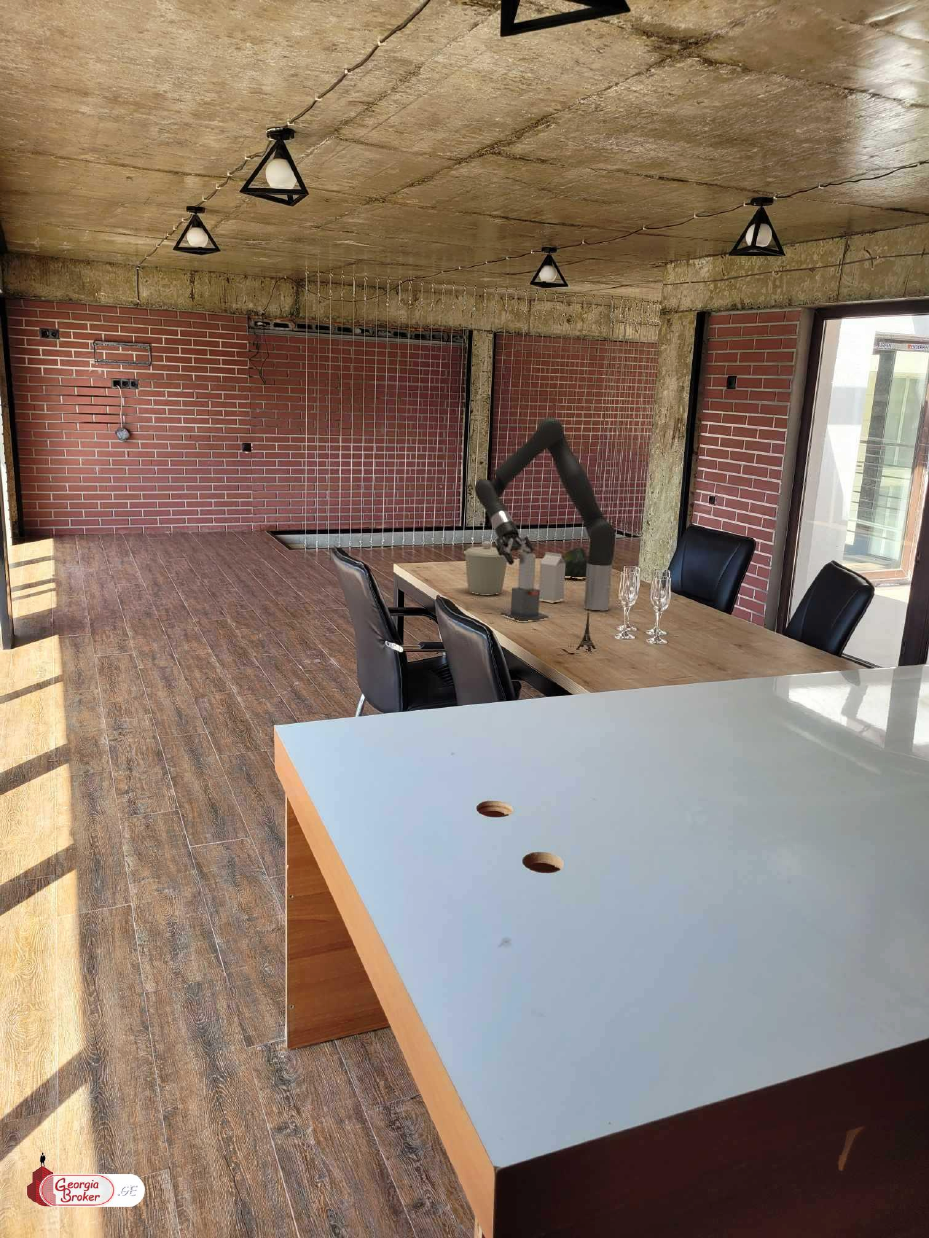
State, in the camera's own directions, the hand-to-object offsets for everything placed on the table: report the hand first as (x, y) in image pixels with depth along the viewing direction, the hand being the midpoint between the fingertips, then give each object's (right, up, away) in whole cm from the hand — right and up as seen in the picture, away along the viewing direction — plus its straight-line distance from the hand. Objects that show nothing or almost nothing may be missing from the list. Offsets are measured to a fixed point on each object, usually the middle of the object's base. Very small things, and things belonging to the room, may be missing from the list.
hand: (522, 563), depth 327 cm
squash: (+28, -2, +84) cm, 89 cm away
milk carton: (+13, -13, +33) cm, 38 cm away
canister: (-12, -10, +43) cm, 46 cm away
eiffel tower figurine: (+17, -30, -39) cm, 52 cm away
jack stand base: (+1, -19, +2) cm, 20 cm away
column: (+1, -13, 0) cm, 13 cm away
